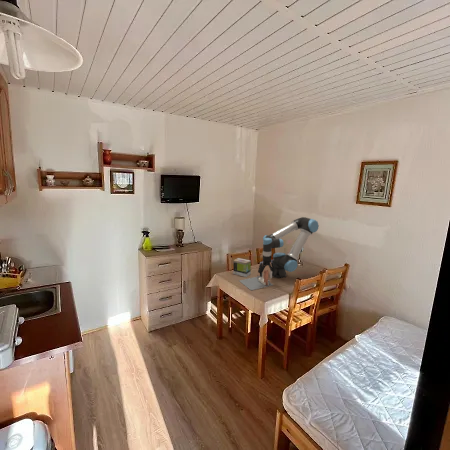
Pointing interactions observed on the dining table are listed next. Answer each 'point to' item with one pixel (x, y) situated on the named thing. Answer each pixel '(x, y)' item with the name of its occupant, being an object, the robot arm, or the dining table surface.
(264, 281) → the leg
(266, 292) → the dining table surface
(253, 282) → the felt mat
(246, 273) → the tea box
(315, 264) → the dining table surface
